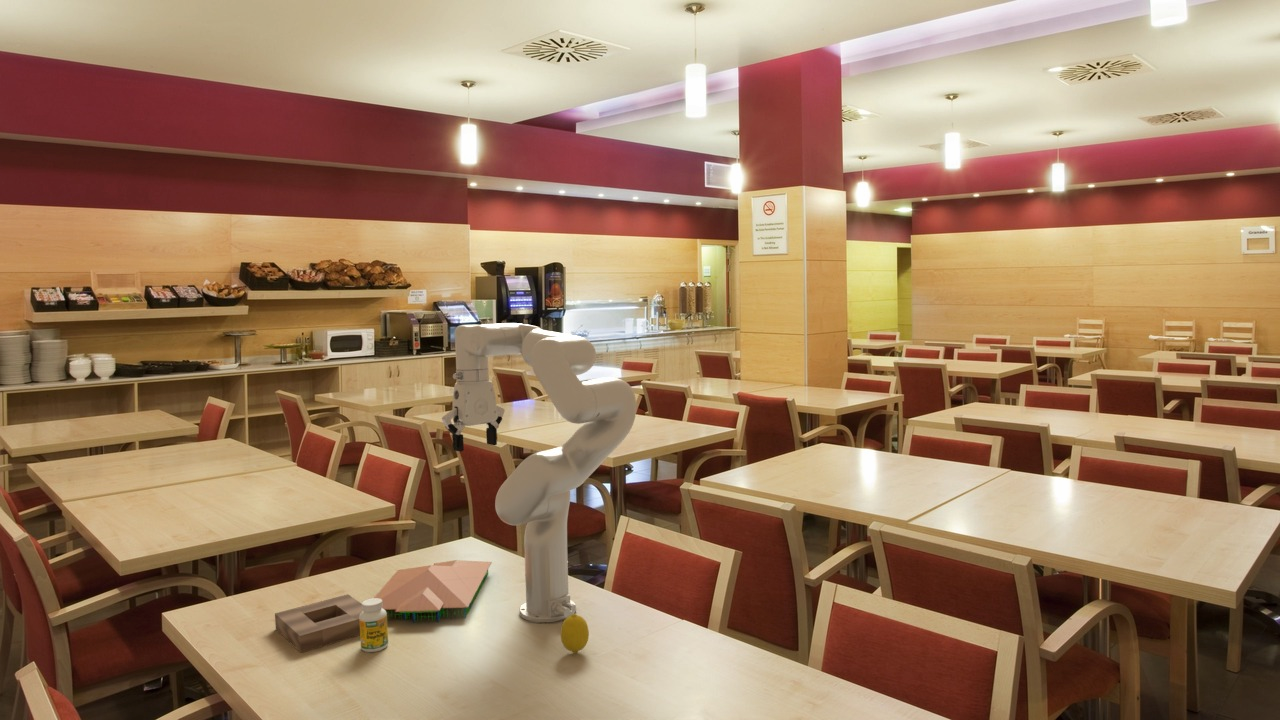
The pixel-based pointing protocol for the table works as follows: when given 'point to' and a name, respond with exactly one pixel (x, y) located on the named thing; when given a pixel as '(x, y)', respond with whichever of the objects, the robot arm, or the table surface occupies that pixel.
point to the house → (434, 588)
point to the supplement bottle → (373, 626)
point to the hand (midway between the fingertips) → (475, 447)
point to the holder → (320, 622)
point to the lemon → (574, 633)
